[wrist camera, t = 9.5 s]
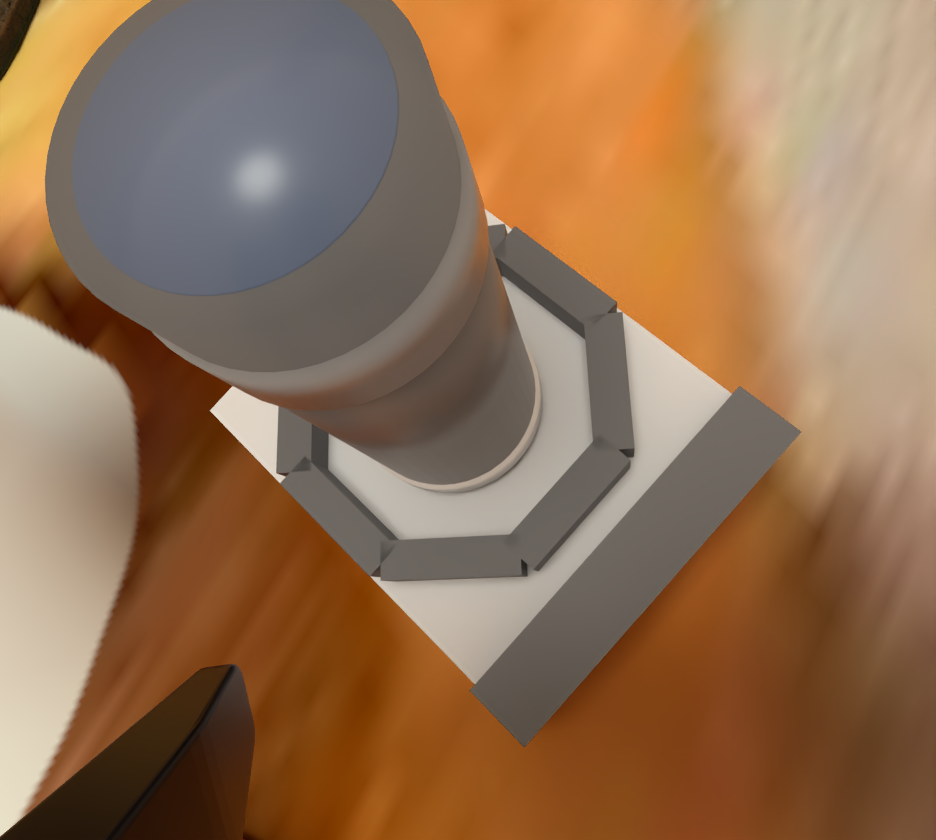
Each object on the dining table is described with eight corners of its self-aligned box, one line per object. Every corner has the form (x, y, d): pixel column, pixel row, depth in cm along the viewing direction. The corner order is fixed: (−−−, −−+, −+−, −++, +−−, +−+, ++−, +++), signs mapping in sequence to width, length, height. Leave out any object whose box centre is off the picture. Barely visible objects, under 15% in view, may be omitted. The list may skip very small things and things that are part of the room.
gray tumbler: (562, 340, 20) (492, -39, 8) (518, 515, 19) (365, 379, 7) (396, 308, 21) (121, -63, 9) (347, 471, 20) (-29, 294, 8)
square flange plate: (769, 460, 21) (804, 428, 17) (541, 720, 21) (522, 749, 17) (454, 218, 25) (422, 146, 21) (257, 432, 25) (187, 400, 21)
